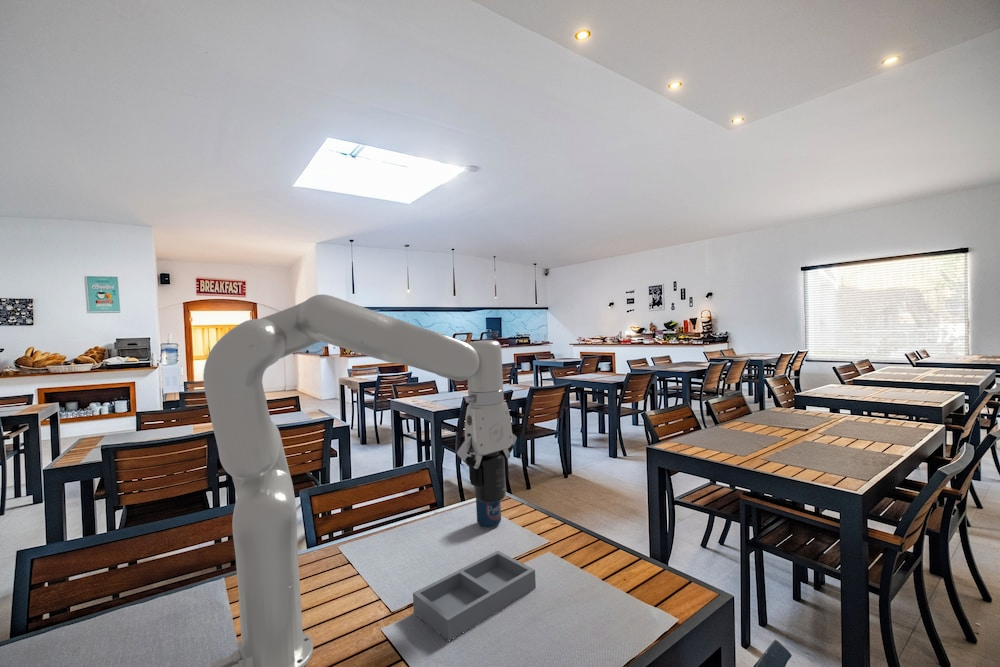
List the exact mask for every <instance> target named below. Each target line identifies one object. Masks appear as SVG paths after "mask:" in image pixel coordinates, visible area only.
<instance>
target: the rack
mask: <svg viewBox="0 0 1000 667" xmlns="http://www.w3.org/2000/svg"><path fill="white" fill-rule="evenodd" d="M536 586H537V583H536V569H534V568H533V567H530V566H529V565H527V564H524V563H523V562H521V561H519V560H517V559H515V558H514V557H511V556H509V555H507V554H505V553H503V552H501V551H500V550H497V551H494V552H492V553H490V554H488V555H487V556H484V557H482V558H479V559H478V560H477V561H474V562H472V563H470V564H468V565H466V566H465V567H463V568H460V569H458V570H457V571H454V572H452V573H450V574H448V575H446V576H444V577H442V578H440V579H438V580H436V581H435V582H432V583H431V584H428V585H426V586H424V587H422V588H420V589H418V590H416V591H414V592H412V600H413V601H412V602H413V603H412V604H413V606H412V607H413V613H414V614H415V615H416V616H417V617H419V619H421V620H422V621H423V622H425V624H427V625H428V626H429V627H430V626H431V627H430V628H432V629H433V630H434V631H435V632H436V631H437V632H436V633H438V634H439V633H440V634H441V635H442V636H443V637H442V636H441V635H440V634H439V635H440V636H441V637H442V638H443V639H445V638H446V639H447V640H448V641H449V640H451V639H453V638H454V639H455V637H456V638H457V636H458V635H459V636H461V635H462V634H464V633H466V632H467V631H469V630H470V629H472V628H474V627H475V626H477V625H478V623H479V624H480V623H482V622H483V621H485V620H486V619H488V618H489V617H491V616H493V615H495V614H496V613H498V612H500V611H501V610H503V609H504V608H506V607H507V606H509V605H511V604H512V603H515V602H516V601H517V600H519V599H520V598H522V597H524V596H525V595H527V594H528V593H530V592H531V591H532V592H533V590H535V589H536ZM502 608H503V609H502ZM481 621H482V622H481ZM471 627H472V628H471ZM468 629H469V630H468ZM465 631H466V632H465ZM463 632H464V633H463ZM461 633H462V634H461ZM460 634H461V635H460ZM459 636H458V637H459ZM446 639H445V640H446ZM454 639H453V640H454ZM447 640H446V641H447ZM448 641H447V642H448ZM451 641H452V640H451ZM449 642H450V641H449Z"/></svg>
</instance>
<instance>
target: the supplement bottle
mask: <svg viewBox="0 0 1000 667" xmlns="http://www.w3.org/2000/svg"><path fill="white" fill-rule="evenodd" d="M475 458H476V455H475ZM475 458H474V461H475ZM479 467H480V468H481V469H482V487H477V486H474V485H473V488H474V489H473V490H474V491H473V492H474V498H475V500H476V499H477V500H478V501H481V502H486V503H491V502H497V501H500V502H501V501H502V500H504V499H505V497H506V495H507V485H506V482H507V481H506V479H507V478H506V477H505V458H504V456H503V455H502V454H501V453H500V452H499V451H498V452H495V453H492V454H489V455H485V456H482V459H481V462H480V465H479Z"/></svg>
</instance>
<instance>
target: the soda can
mask: <svg viewBox="0 0 1000 667" xmlns="http://www.w3.org/2000/svg"><path fill="white" fill-rule="evenodd" d="M475 502H476V503H475V504H476V505H475V506H476V507H475V508H476V522H477V523H478V525H479V527H481V528H482V527H483V528H482V529H487V528H489V529H494V527H495V528H496V526H497V527H498V526H499V525H500V523H501V522H502V510H501V509H502V508H501V504H502V503H501V500H500V501H497V502H491V503H486V502H481V501H478V500H477V499H476V498H475Z"/></svg>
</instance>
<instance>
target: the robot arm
mask: <svg viewBox="0 0 1000 667" xmlns="http://www.w3.org/2000/svg"><path fill="white" fill-rule="evenodd" d="M319 342H321V343H322V342H323V343H325V344H329V345H332V346H334V347H339V348H342V349H346V350H348V351H351V352H354V353H358V354H360V355H363V356H367V357H370V358H373V359H377V360H379V361H384V362H387V363H391V364H392V363H393V364H398V365H403V366H407V367H410V368H411V367H412V368H414V369H418V370H422V371H426V372H429V373H431V374H435V375H437V376H438V377H441V378H444V379H450V380H453V381H455V382H456V381H457V382H463V381H467V390H468V391H467V392H468V393H467V396H465V398H464V401H465V403H467V404H468V406H467V407H466V412H465V422H464V441H463V442H462V444H461V445H460V447H459V448H458V449H457V452H456V455H457V456H458V457H459V458H460V459H461V461H462V462H464V464H465V465H466V466H467V467H469V479H470V480H469V481H470V484H471V485H472V486H473V487H474V486H477V487H482V469H481V468H480V467H479V465H480V462H481V459H482V456H485V455H489V454H492V453H495V452H498V451H499V452H500V453H501V454H502V455H503V456H504V458H505V479H507V478H508V477H509V476H510V474H509V459H510V458H511V453H512V450H514V449H513V448H514V445H515V443H516V441H517V439H518V438H517V435H515V434H514V433H513V429H512V421H511V420H512V419H511V415H510V410H509V406H508V403H507V402H506V401H504V400H505V398H504V378H503V377H504V375H503V357H502V345H501V343H500V342H499V341H497V340H492V339H491V340H485V339H484V340H474V341H471V342H465V341H462V340H460V339H456V338H454V337H450V336H448V335H445V334H442V333H439V332H436V331H433V330H431V329H430V330H429V329H427V328H424V327H420V326H417V325H414V324H412V323H409V322H407V321H405V320H402V319H399V318H396V317H394V316H393V317H392V316H389V315H387V314H384V313H381V312H379V311H375V310H372V309H371V308H370V309H369V308H367V307H363V306H361V305H358V304H355V303H352V302H350V301H347V300H344V299H341V298H339V297H335V296H333V295H328V294H322V293H321V294H315V295H313V296H310V297H309V298H308V299H306V300H304V301H303V302H300V303H298V304H295V305H293V306H292V307H288V308H285V309H283V310H280V311H277V312H275V313H273V314H269V315H266V316H263V317H260V318H253V319H252V318H251V319H248V320H245V321H243V322H241V323H239V324H237V325H235V326H234V327H233V328H232V329H230V330H228V332H226V333H225V334H224V335H222V336H221V337H220V338H219V339H218V341H217V342H216V343H215V344H214V345H213V347H212V348H211V350H210V352H209V353H208V356H207V358H206V360H205V363H204V367H203V368H204V369H203V380H202V381H203V390H204V394H205V399H206V402H207V406H208V412H209V415H210V421H211V424H212V426H211V427H212V430H213V434H214V437H215V440H216V446H217V451H218V457H219V462H220V464H221V467H222V468H223V469H224V471H225V472H226V473H227V474H228V475H229V476H231V478H232V482H233V485H234V489H235V493H236V500H235V504H234V509H233V513H232V520H231V521H232V523H231V525H232V527H231V528H232V538H233V546H234V552H235V553H234V556H235V566H236V579H237V580H236V581H237V588H238V589H237V591H238V593H237V594H238V606H239V607H238V609H239V625H240V626H239V627H240V641H238V642H237V643H236V650H233V651H231V653H230V655H228V656H226V657H224V658H220V659H218V660H216V661H214V662H212V663H210V664H209V666H208V667H306V665H307V664H308V663H309V661H310V660H311V658H312V656H313V654H314V653H313V652H314V643H313V640H312V637H311V636H309V635H308V634H307V633H304V632H303V630H304V629H303V618H302V617H303V614H302V596H301V583H300V581H301V580H300V579H301V578H300V567H299V547H298V531H297V530H298V524H297V521H298V518H297V505H296V496H295V491H294V485H293V480H292V476H291V473H290V469H289V464H288V460H287V457H286V453H285V449H284V445H283V440H282V436H281V432H280V430H279V428H278V426H277V424H275V423H274V422H273V421H272V419H271V415H270V411H269V408H268V403H267V398H266V393H265V389H264V385H263V384H264V383H263V377H264V374H265V372H266V370H267V369H268V368H269V367H270V366H272V365H274V364H275V363H277V362H278V361H279V360H281V359H282V358H285V357H287V356H289V355H292V354H294V353H297V352H300V351H302V350H304V349H307V348H309V347H311V346H314V345H315V344H319ZM468 453H469V454H468ZM475 455H476V458H475ZM474 458H475V461H474Z"/></svg>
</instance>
